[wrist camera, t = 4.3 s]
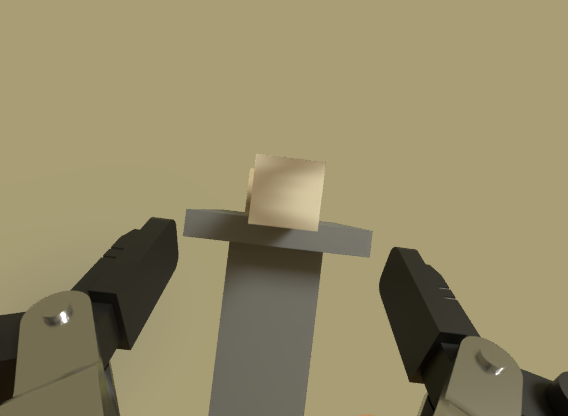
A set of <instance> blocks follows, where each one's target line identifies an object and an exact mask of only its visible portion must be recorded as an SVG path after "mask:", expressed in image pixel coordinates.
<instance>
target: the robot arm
mask: <svg viewBox="0 0 568 416" xmlns="http://www.w3.org/2000/svg"><path fill="white" fill-rule="evenodd" d="M177 262H178V242H177V231H176V223H175V221H174V220H171V219H163V218H155V217H152V218H150V219H149V220H148V221H147V223H146V224H145V225H144V226H143V227H142V228H141V229H140V230H137V229H134V230H132V231H130V232H129V233H127V234H125V235H123V236H121V237H120V238H119V239H118V240H117V241H116V242H115V244H113V246H112V247H111V249H109V250H108V251H107V252H106V253H105V254H104V255H103V258H100V260H99V261H98V262H97V263H96V264H95V265H94V266H93V267H92V268H91V269H90V270H89V271H88V272H87V273H86V274H85V275H84V277H83V278H82V279H81V280H80V281H79V282H78V283H77V284H76V285H75V286H74V287H73V288H72V289H71V290H70V291H64V292H59V293H55V294H53V295H50V296H48V297H45V298H44V299H42V300H40V301H39V302H37V303H35V304H34V305H33V306H32V307H30V308H29V309H28V310H27V311H26V312H21V313H15V314H7V315H0V416H120V413H119V408H118V402H117V396H116V391H115V385H114V379H113V374H112V369H111V363H110V359H111V357H112V355H113V354H114V352H115V350H116V349H124V350H131V348H132V347H133V345H134V343H135V341H136V339H137V338H138V336H139V334H140V332H141V330H142V328H143V327H144V325H145V323H146V321H147V320H148V318H149V316H150V314H151V312H152V310H153V309H154V307H155V305H156V303H157V301H158V300H159V298H160V296H161V294H162V292H163V290H164V289H165V287H166V285H167V283H168V282H169V280H170V278H171V276H172V274H173V272H174V271H175V269H176V266H177ZM379 290H380V295H381V299H382V302H383V304H384V307H385V310H386V313H387V316H388V319H389V322H390V325H391V328H392V331H393V334H394V337H395V340H396V343H397V346H398V349H399V352H400V355H401V358H402V361H403V364H404V367H405V370H406V373H407V376H408V379H409V382H413V383H422V384H425V387H426V389H427V393H426V394H425V396H424V398H423V401H422V404H421V407H420V409H419V412H418V415H417V416H568V372H563V373H562V374H560V375H559V376H558V377H557V378H556V379H555V380H554V381H551V380H548V379H546V378H543V377H541V376H538V375H535V374H532V373H530V372H528V371H525V370H522V369H520V368H519V366H518V365H517V363H516V362H515V360H514V359H513V358H512V357H511V356H510V355H509V354H508V353H507V352H506V351H505V350H503V349H502V348H500V347H499V346H498V345H496V344H495V343H493V342H491V341H489V340H487V339H484V338H481V337H480V335H479V334H478V332H477V331H476V329H475V328H474V326H473V324H472V323H471V321H470V320H469V318H468V316H467V315H466V314H465V312H464V310H463V309H462V307H461V305H460V304H459V302H458V301H457V300H455V296H454V294H453V293H452V291H451V290H449V287H448V285H447V283H446V282H445V280H444V279H443V278H442V276H441V275H440V274H439V273H438V272H437V271H436V270H435V269H434V268H432V267H431V266H430V265H426V264H425V263H424V261H423V260H422V258H421V256H420V254H419V253H418V251H417V250H415V249H407V248H400V247H394V248H392V250H391V252H390V254H389V257H388V259H387V262H386V265H385V267H384V270H383V272H382V275H381V278H380V283H379Z"/></svg>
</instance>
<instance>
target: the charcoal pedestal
mask: <svg viewBox="0 0 568 416" xmlns="http://www.w3.org/2000/svg"><path fill="white" fill-rule="evenodd" d="M248 219H249V215H245V212H237V211H229V210H206V209H187V210H186V216H185V225H184V232H183V236H188V237H196V238H205V239H213V240H222V241H230V242H229V251H228V259H227V267H226V276H225V285H224V292H223V301H222V309H221V318H220V325H219V333H218V342H217V350H216V358H215V367H214V375H213V383H212V391H211V400H210V408H209V416H304V409H305V400H306V392H307V383H308V375H309V367H310V358H311V350H312V340H313V332H314V324H315V315H316V307H317V298H318V289H319V280H320V273H321V263H322V255H323V252H326V253H334V254H343V255H352V256H361V257H370V248H371V240H372V231H369V230H365V229H360V228H356V227H351V226H346V225H342V224H337V223H331V222H321V221H319V224H318V232H317V231H308V230H300V229H291V228H283V227H274V226H265V225H257V224H248Z"/></svg>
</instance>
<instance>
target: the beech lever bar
mask: <svg viewBox="0 0 568 416" xmlns="http://www.w3.org/2000/svg"><path fill="white" fill-rule="evenodd" d="M325 164H326V162H318V161H311V160H303V159H294V158H287V157H278V156H270V155H262V154H256V161H255V169H252V168H251V169H250V176H249V184H248V193H247V200H246V208H245V215H249V219H248V224H257V225H265V226H274V227H283V228H291V229H300V230H308V231H317V232H318V224H319V215H320V206H321V198H322V190H323V181H324V173H325Z"/></svg>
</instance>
